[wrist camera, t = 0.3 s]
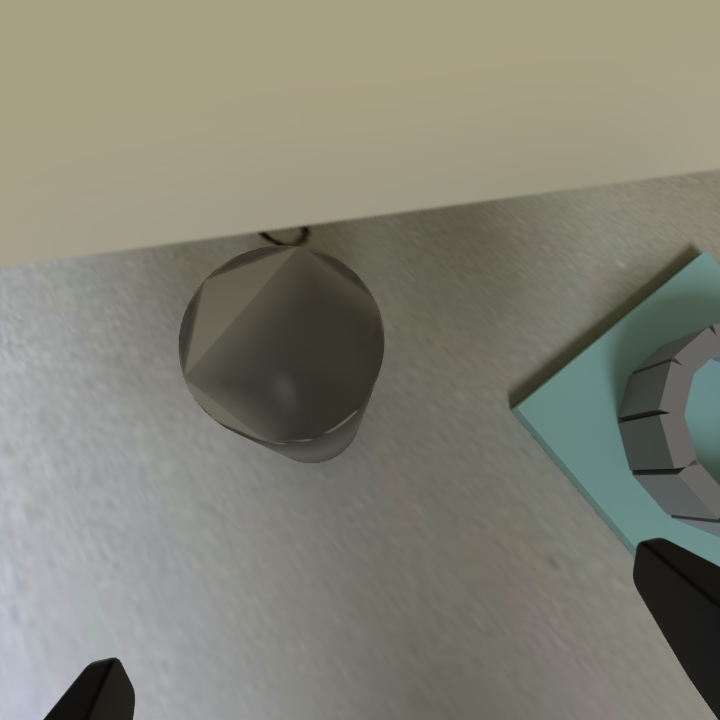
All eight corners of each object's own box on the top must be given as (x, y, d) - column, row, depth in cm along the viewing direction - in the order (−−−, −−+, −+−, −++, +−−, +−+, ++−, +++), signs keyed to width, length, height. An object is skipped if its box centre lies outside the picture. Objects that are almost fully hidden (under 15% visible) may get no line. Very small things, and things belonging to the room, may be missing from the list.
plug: (379, 423, 23) (425, 357, 11) (302, 483, 22) (257, 487, 10) (322, 349, 23) (304, 210, 11) (245, 405, 23) (138, 320, 11)
